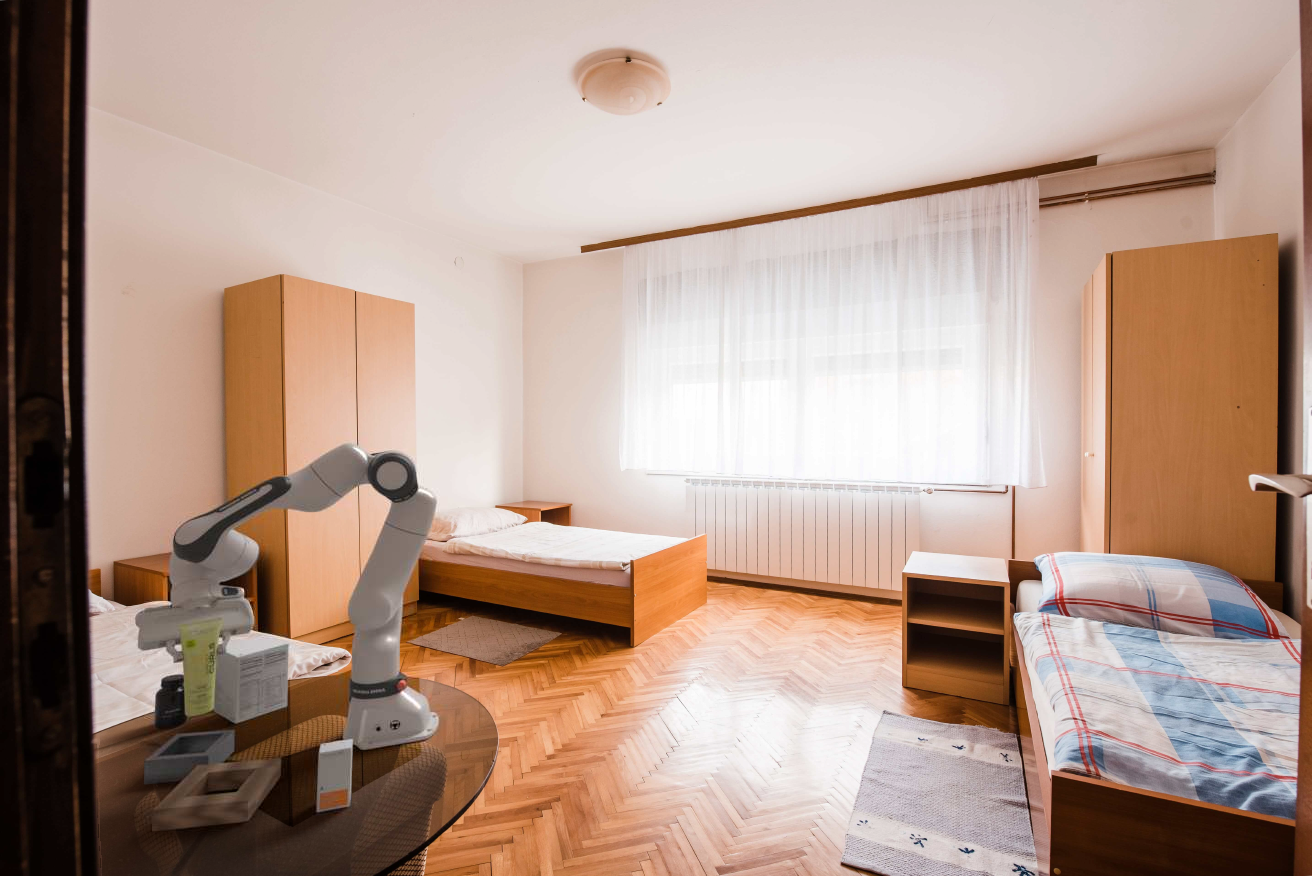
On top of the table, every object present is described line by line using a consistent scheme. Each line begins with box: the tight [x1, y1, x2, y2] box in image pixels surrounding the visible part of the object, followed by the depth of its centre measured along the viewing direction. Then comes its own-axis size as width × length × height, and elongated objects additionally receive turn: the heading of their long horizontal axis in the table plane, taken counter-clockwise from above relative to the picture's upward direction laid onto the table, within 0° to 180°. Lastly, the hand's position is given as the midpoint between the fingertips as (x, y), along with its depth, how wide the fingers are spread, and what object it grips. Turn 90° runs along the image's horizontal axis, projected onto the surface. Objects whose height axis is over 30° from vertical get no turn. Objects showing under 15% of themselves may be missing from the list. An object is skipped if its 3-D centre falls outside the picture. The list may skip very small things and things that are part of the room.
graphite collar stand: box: [143, 729, 236, 785], centre depth 135 cm, size 12×12×5 cm
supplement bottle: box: [153, 673, 189, 730], centre depth 155 cm, size 7×7×12 cm
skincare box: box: [316, 739, 354, 813], centre depth 122 cm, size 6×4×12 cm
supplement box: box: [213, 635, 290, 724], centre depth 164 cm, size 13×13×18 cm
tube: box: [178, 617, 222, 717], centre depth 128 cm, size 6×5×20 cm
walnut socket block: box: [151, 757, 282, 832], centre depth 122 cm, size 16×16×4 cm
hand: (200, 657), depth 127 cm, fingers closed on tube, 6 cm apart
